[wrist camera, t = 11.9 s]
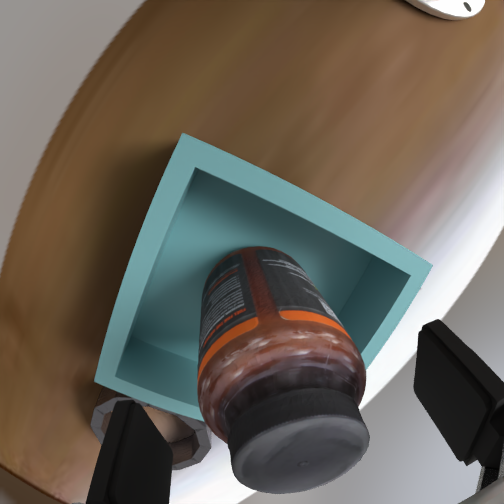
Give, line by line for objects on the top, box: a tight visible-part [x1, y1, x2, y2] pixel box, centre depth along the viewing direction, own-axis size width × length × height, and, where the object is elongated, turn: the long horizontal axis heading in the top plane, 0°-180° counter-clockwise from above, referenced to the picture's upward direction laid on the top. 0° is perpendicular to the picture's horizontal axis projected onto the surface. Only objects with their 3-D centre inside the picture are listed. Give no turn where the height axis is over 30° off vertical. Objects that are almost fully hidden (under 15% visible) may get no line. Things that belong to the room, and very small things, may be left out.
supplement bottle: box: [197, 246, 370, 494], centre depth 13 cm, size 6×6×11 cm
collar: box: [91, 386, 211, 470], centre depth 20 cm, size 9×9×2 cm
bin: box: [94, 133, 433, 422], centre depth 16 cm, size 13×13×5 cm
